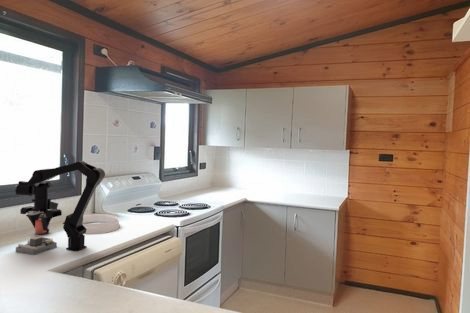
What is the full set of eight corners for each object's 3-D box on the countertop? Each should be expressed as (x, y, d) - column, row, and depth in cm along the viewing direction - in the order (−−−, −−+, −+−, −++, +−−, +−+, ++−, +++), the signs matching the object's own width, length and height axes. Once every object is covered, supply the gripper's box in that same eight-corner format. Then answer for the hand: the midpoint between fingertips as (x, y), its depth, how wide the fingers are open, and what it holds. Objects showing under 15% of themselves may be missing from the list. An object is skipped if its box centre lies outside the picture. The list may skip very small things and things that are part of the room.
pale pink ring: (59, 233, 192) (59, 223, 192) (79, 221, 219) (79, 212, 219) (110, 235, 193) (110, 225, 193) (124, 223, 220) (124, 214, 220)
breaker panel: (56, 246, 169) (57, 239, 169) (33, 254, 156) (33, 246, 156) (39, 243, 172) (39, 236, 172) (15, 251, 159) (15, 244, 159)
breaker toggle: (41, 246, 162) (41, 236, 162) (35, 248, 158) (35, 238, 158) (36, 245, 163) (36, 235, 162) (29, 247, 159) (29, 237, 159)
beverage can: (45, 230, 195) (46, 208, 195) (51, 233, 191) (51, 210, 191) (32, 232, 190) (33, 210, 190) (38, 235, 186) (38, 212, 186)
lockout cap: (48, 231, 169) (48, 218, 168) (40, 234, 164) (40, 220, 164) (40, 230, 170) (40, 217, 170) (32, 232, 165) (32, 219, 165)
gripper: (70, 195, 171) (70, 228, 172) (39, 192, 177) (38, 224, 177) (52, 199, 161) (51, 233, 161) (19, 195, 166) (19, 229, 167)
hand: (40, 230), depth 167 cm, fingers closed on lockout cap, 5 cm apart
